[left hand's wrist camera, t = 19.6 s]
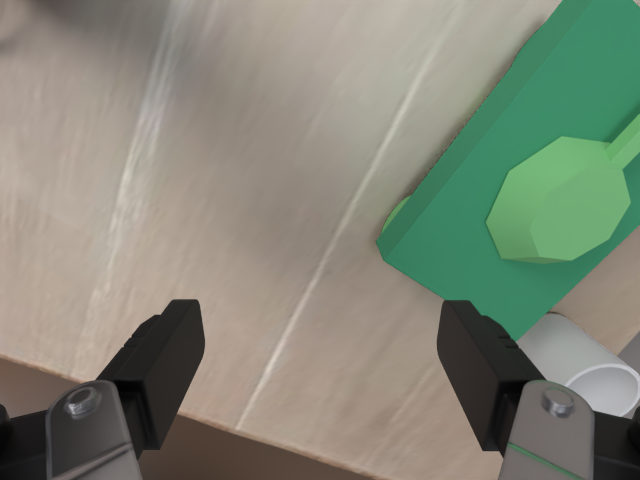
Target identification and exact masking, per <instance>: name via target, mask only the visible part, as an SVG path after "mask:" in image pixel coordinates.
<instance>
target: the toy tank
mask: <svg viewBox="0 0 640 480" xmlns="http://www.w3.org/2000/svg"><path fill="white" fill-rule="evenodd" d="M639 225H640V7H639V6H638V5H637V4H636V3H635V2H634V1H633V0H563V1H562V2H561V3H560V4H559V6H558V7H557V8H556V10H555V11H554V12H553V13H552V15H551V16H550V17H549V19H548V20H547V21H546V22H545V23H544V24H543V25H542V26H541V27H540V28H539V29H538V30H537V31H536V32H535V33H534V34H533V35H532V36H531V38H530V39H529V40H528V41H527V42H526V44H525V45H524V46H523V47H522V49H521V50H520V52H519V53H518V54H517V56H516V58H515V60H514V61H513V63H512V66H511V68H510V69H509V70H508V71H507V73H506V74H505V75H504V77H503V78H502V79H501V80H500V82H499V83H498V84H497V86H496V87H495V88H494V89H493V91H492V92H491V93H490V95H489V96H488V97H487V98H486V100H485V101H484V102H483V104H482V105H481V106H480V107H479V109H478V110H477V111H476V113H475V114H474V115H473V117H472V118H471V119H470V120H469V122H468V123H467V124H466V126H465V127H464V128H463V129H462V131H461V132H460V133H459V135H458V136H457V137H456V138H455V140H454V141H453V142H452V144H451V145H450V146H449V147H448V149H447V150H446V151H445V153H444V154H443V155H442V156H441V158H440V159H439V160H438V162H437V163H436V164H435V165H434V167H433V168H432V169H431V171H430V172H429V173H428V174H427V176H426V177H425V178H424V180H423V181H422V182H421V184H420V185H419V186H418V187H417V189H416V190H415V191H414V193H413V194H412V195H411V196H408V197H407V198H405V199H403V200H402V201H401V202H400V203H399V204H398V205H397V206H396V207H395V209H394V210H393V211H392V212H391V214H390V215H389V217H388V218H387V220H386V222H385V224H384V226H383V229H382V231H381V235H380V236H379V238H378V239H377V240H376V243H377V246H378V248H379V251H380V253H381V255H382V258H383V260H384V261H385V262H386V263H388V264H389V265H391V266H393V267H394V268H396V269H397V270H399V271H401V272H402V273H404V274H405V275H407V276H409V277H410V278H412V279H413V280H415V281H417V282H418V283H420V284H421V285H423V286H424V287H426V288H428V289H429V290H431V291H432V292H434V293H436V294H437V295H439V296H440V297H442V298H444V299H445V300H469V301H471V302H472V304H473V305H474V306H475V308H476V309H477V310H478V312H479V313H480V314H481V315H487V316H489V317H490V318H492V319H493V320H495V321H496V322H498V323H499V324H501V325H502V326H503V328H504V329H505V330H506V331H507V332H508V334H509V335H510V336H511V339H513V340H514V341H515V342H516V341H517V340H518V339H520V338H521V337H522V336H523V335H524V334H525V333H526V332H527V331H528V330H529V329H530V328H531V327H532V326H533V325H534V324H535V323H536V322H537V321H539V320H540V319H541V318H542V317H543V316H544V315H545V314H546V313H547V312H548V311H549V310H550V309H551V308H552V307H553V306H554V305H555V304H556V303H558V302H559V301H560V300H561V299H562V298H563V297H564V296H565V295H566V294H567V293H568V292H569V291H570V290H571V289H572V288H573V287H574V286H575V285H577V284H578V283H579V282H580V281H581V280H582V279H583V278H584V277H585V276H586V275H587V274H588V273H589V272H590V271H591V270H592V269H593V268H594V267H596V266H597V265H598V264H599V263H600V262H601V261H602V260H603V259H604V258H605V257H606V256H607V255H608V254H609V253H610V252H611V251H612V250H613V249H615V248H616V247H617V246H618V245H619V244H620V243H621V242H622V241H623V240H624V239H625V238H626V237H627V236H628V235H629V234H630V233H631V232H632V231H634V230H635V229H636V228H637V227H638V226H639Z"/></svg>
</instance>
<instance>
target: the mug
mask: <svg viewBox="0 0 640 480" xmlns="http://www.w3.org/2000/svg"><path fill="white" fill-rule="evenodd" d="M516 343H517V344H518V346H519V348H521V349H522V351H523V352H524V353H525V354H526V355H527V357H528V358H529V359H530V360H531V361H532V363H533V364H534V365H535V366H536V368H537V369H538V370H539V371H540V372H541V374H542V375H543V376H544V377H545V378H546V380H547V381H551V382H555V383H558V384H561V385H563V386H565V387H567V388H569V389H571V390H573V391H574V392H576V393H577V394H579V395H580V396H581V397H582V398H583V399H585V400H586V401H587V403H588V404H589V405H590V406H591V408H592V410H594V411H598V412H602V413H606V414H610V415H615V416H619V417H622V416H623V415H625V414H626V413H628V412H629V411H630V410H631V409H632V408H633V407H634V406H635V405H636V403H637V401H638V400H639V398H640V376H639V374H638V373H637V372H636V371H634V370H633V369H632V368H631V367H630V366H628V365H627V364H626V363H625V362H623V361H622V360H621V359H619V358H618V357H617V356H616V355H614V354H613V353H612V352H610V351H609V350H608V349H606V348H605V347H604V346H603V345H601V344H600V343H599V342H597V341H596V340H595V339H594V338H592V337H591V336H590V335H588V334H587V333H586V332H584V331H583V330H582V329H581V328H579V327H578V326H577V325H575V324H574V323H573V322H572V321H570V320H569V319H568V318H566V317H565V316H563V315H560V314H556V313H546V314H545V315H544V316H543V317H542V318H541V319H540V320H539V321H537V322H536V323H535V324H534V325H533V326H532V327H531V328H530V329H529V330H528V331H527V332H526V333H525V334H524V335H523V336H522V337H521V338H520V339H518V340H517V341H516Z"/></svg>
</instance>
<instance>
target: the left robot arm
mask: <svg viewBox="0 0 640 480" xmlns="http://www.w3.org/2000/svg"><path fill="white" fill-rule="evenodd" d="M204 349H205V337H204V330H203V323H202V317H201V310H200V304H199V302H198V300H196V299H174V300H172V301H171V302H170V303H169V304H168V306H167V307H166V308H165V310H164V311H163V312H162V314H161V315H154V316H152V317H151V318H149V319H148V320H146V321H145V322H143V323H142V324H141V325H140V326H139V327H138V328H137V330H136V331H135V332H134V333H133V334H132V337H131V338H129V339H128V341H127V342H126V343H125V344H124V347H122V348H121V349H120V350H119V352H118V353H117V354H116V355H115V356H114V358H113V359H112V360H111V361H110V363H109V364H108V365H107V366H106V367H105V369H104V370H103V371H102V372H101V374H100V375H99V376H98V377H97V378H96V380H94V381H89V382H85V383H82V384H79V385H77V386H75V387H73V388H71V389H69V390H67V391H66V392H64V393H63V394H61V395H60V396H59V397H58V398H57V399H55V400H54V402H53V403H52V404H51V405H50V406H49V408H48V410H44V411H40V412H36V413H31V414H27V415H23V416H19V417H14V418H9V415H8V413H7V411H6V409H5V407H4V406H3V405H1V404H0V480H142V477H141V473H140V470H139V466H138V462H137V461H138V459H139V457H140V455H141V453H142V451H143V450H160V448H161V446H162V444H163V442H164V440H165V437H166V435H167V433H168V431H169V429H170V427H171V425H172V422H173V420H174V418H175V416H176V414H177V412H178V410H179V407H180V405H181V403H182V401H183V399H184V397H185V394H186V392H187V390H188V388H189V386H190V384H191V382H192V379H193V377H194V375H195V373H196V371H197V369H198V366H199V364H200V362H201V360H202V358H203V354H204ZM437 351H438V356H439V359H440V361H441V363H442V365H443V368H444V370H445V372H446V374H447V376H448V378H449V380H450V382H451V385H452V387H453V389H454V391H455V393H456V395H457V397H458V399H459V402H460V404H461V406H462V408H463V410H464V412H465V414H466V416H467V419H468V421H469V423H470V425H471V427H472V429H473V431H474V433H475V436H476V438H477V440H478V442H479V444H480V446H481V448H482V450H483V451H500V453H501V455H502V457H503V462H502V466H501V470H500V473H499V477H498V480H640V406H639V407H638V408H637V409H636V411H635V413H634V415H633V418H632V419H627V418H623V417H619V416H615V415H610V414H606V413H602V412H598V411H594V410H592V408H591V406H590V405H589V404H588V403H587V401H586V400H585V399H583V398H582V397H581V396H580V395H579V394H577V393H576V392H574V391H573V390H571V389H569V388H567V387H565V386H563V385H561V384H558V383H555V382H551V381H547V380H546V378H545V377H544V376H543V375H542V374H541V372H540V371H539V370H538V369H537V368H536V366H535V365H534V364H533V363H532V361H531V360H530V359H529V358H528V357H527V355H526V354H525V353H524V352H523V351H522V349H521V348H519V346H518V344H517V343H516V342H515V341H514V340H513V339H511V336H510V335H509V334H508V332H507V331H506V330H505V329H504V328H503V326H502V325H501V324H499V323H498V322H496V321H495V320H493V319H492V318H490V317H489V316H487V315H481V314H480V313H479V312H478V310H477V309H476V308H475V306H474V305H473V304H472V302H471V301H469V300H445V301H444V302H443V304H442V309H441V316H440V323H439V329H438V336H437Z"/></svg>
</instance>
